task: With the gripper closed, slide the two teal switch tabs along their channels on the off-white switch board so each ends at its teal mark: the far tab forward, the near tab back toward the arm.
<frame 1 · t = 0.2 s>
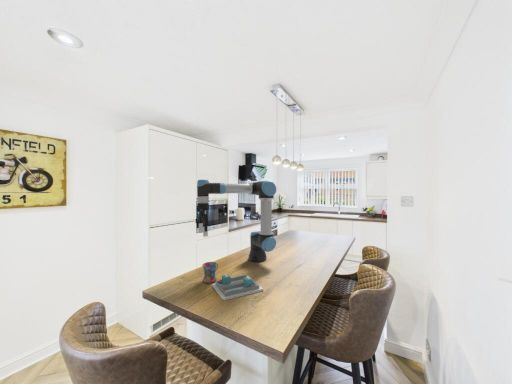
hand: (203, 234, 143), 28 cm above the table, fingers open, 13 cm apart
switch board: (237, 288, 125), on the table
mug: (211, 280, 136), on the table
tab b: (226, 279, 127), point 4 cm above the table, slide at 0.0 cm
tab a: (248, 282, 124), point 4 cm above the table, slide at 0.0 cm
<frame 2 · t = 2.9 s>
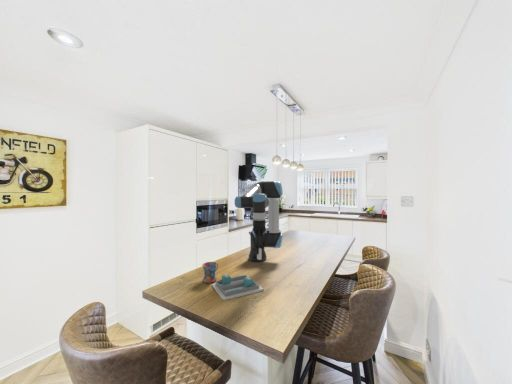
hand: (259, 259, 127), 16 cm above the table, fingers closed
nothing on the table moved.
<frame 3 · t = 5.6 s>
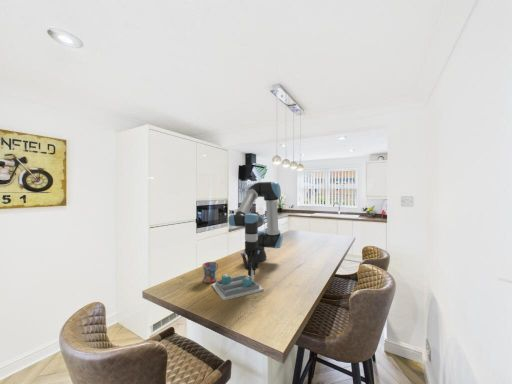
hand: (251, 280, 125), 5 cm above the table, fingers closed
tab a: (247, 282, 123), point 4 cm above the table, slide at 0.6 cm, touching gripper
everything else where it was.
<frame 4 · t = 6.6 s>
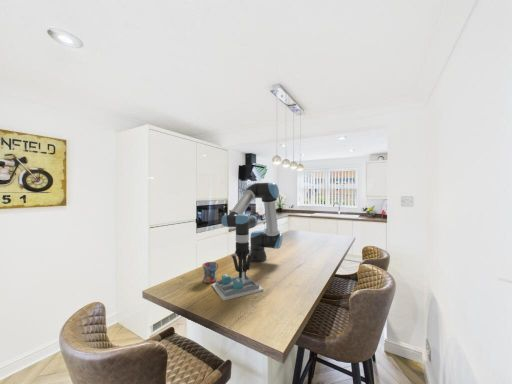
hand: (242, 282, 122), 5 cm above the table, fingers closed
tab a: (237, 284, 121), point 4 cm above the table, slide at 6.4 cm, touching gripper
everything else where it was.
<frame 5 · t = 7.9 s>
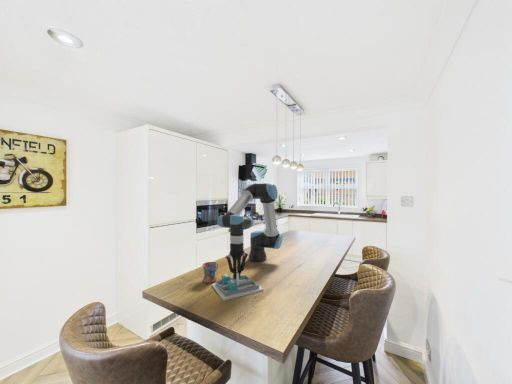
hand: (236, 284, 120), 4 cm above the table, fingers closed
tab a: (232, 285, 119), point 4 cm above the table, slide at 9.7 cm, touching gripper
everything else where it was.
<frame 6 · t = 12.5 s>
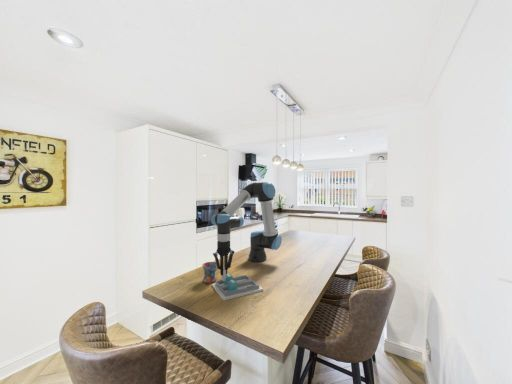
hand: (223, 280, 126), 4 cm above the table, fingers closed
tab b: (228, 279, 127), point 4 cm above the table, slide at 1.3 cm, touching gripper
tab a: (232, 285, 119), point 4 cm above the table, slide at 9.7 cm
everything else where it was.
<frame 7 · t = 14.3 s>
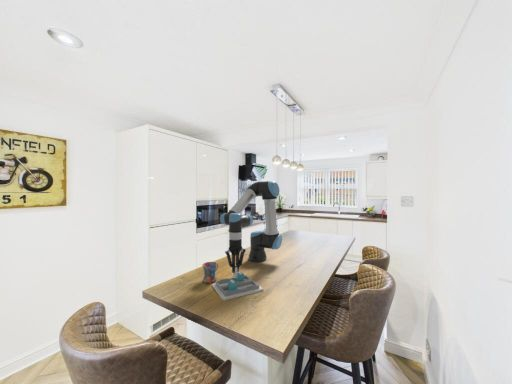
hand: (235, 277, 130), 4 cm above the table, fingers closed
tab b: (239, 277, 131), point 4 cm above the table, slide at 8.7 cm, touching gripper
everything else where it was.
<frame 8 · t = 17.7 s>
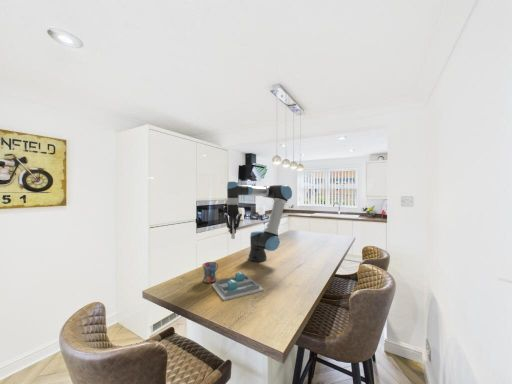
hand: (232, 238, 146), 24 cm above the table, fingers closed
tab b: (239, 277, 131), point 4 cm above the table, slide at 8.8 cm
everything else where it was.
at the end: tab a slide at 9.7 cm; tab b slide at 8.8 cm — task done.
